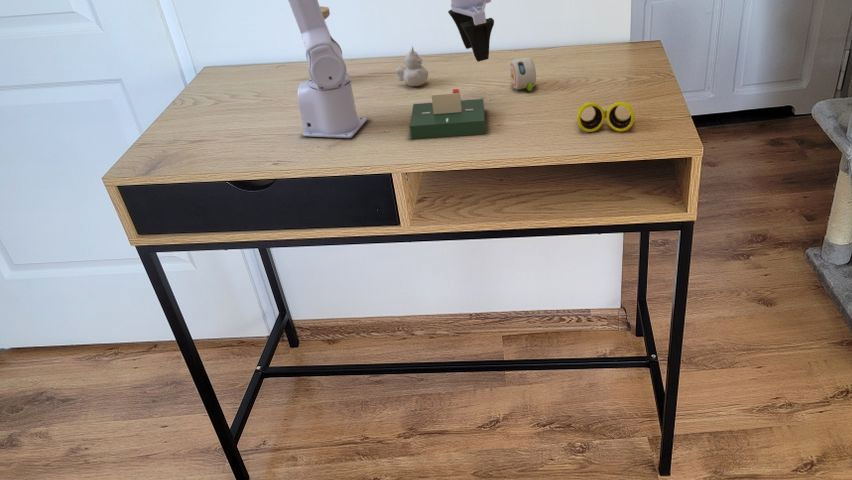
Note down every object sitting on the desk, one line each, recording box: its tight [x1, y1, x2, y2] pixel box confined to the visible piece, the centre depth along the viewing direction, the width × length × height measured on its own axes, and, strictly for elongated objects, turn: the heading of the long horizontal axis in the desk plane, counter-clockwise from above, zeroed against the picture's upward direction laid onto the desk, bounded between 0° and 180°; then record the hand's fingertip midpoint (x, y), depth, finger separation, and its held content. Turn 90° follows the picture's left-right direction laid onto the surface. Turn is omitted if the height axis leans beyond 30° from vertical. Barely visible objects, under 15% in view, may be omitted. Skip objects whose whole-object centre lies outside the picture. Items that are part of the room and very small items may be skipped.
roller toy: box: [509, 57, 537, 92], centre depth 146 cm, size 4×6×6 cm
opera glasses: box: [576, 101, 636, 133], centre depth 129 cm, size 10×5×5 cm, turn 84°
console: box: [409, 98, 486, 140], centre depth 134 cm, size 13×10×3 cm
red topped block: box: [430, 88, 462, 114], centre depth 132 cm, size 5×2×4 cm, turn 92°
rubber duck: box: [394, 46, 429, 87], centre depth 150 cm, size 5×7×8 cm
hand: (476, 53), depth 135 cm, fingers open, 7 cm apart
